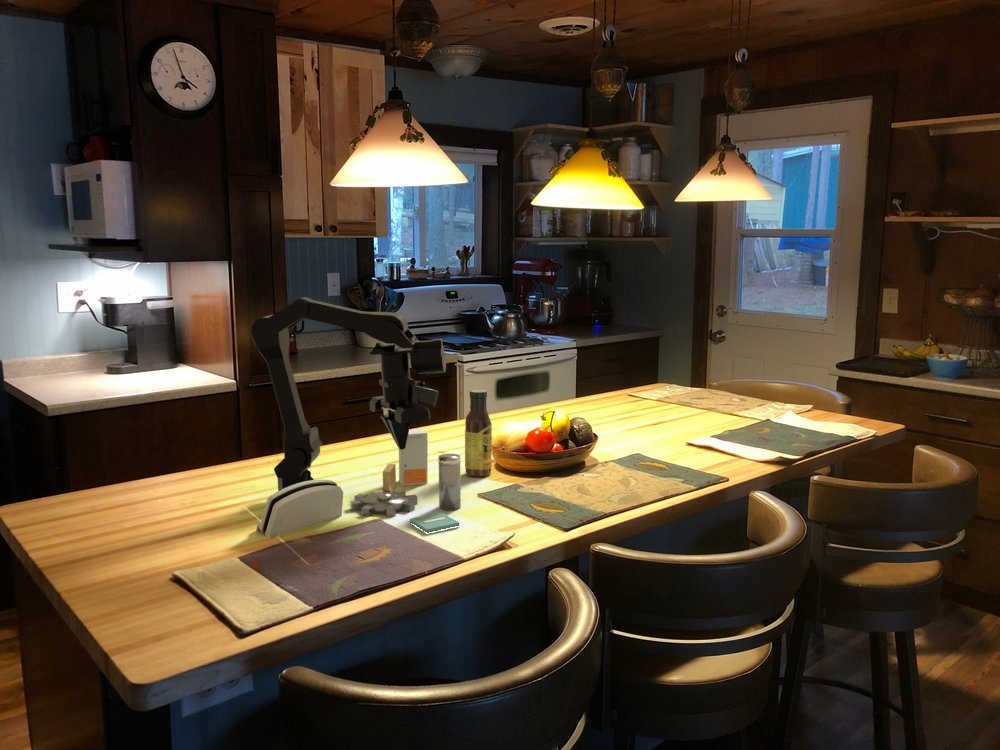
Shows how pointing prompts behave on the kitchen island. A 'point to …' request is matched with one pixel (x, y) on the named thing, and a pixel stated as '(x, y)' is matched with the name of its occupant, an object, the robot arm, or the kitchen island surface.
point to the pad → (434, 522)
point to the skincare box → (414, 459)
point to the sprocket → (385, 498)
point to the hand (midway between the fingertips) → (402, 449)
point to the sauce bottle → (478, 436)
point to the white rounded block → (301, 506)
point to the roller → (449, 482)
